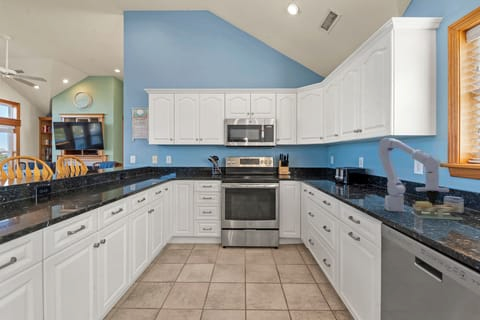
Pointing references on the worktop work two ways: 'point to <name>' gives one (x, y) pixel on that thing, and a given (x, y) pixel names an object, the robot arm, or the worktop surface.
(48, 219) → the worktop surface
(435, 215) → the stand
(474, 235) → the worktop surface
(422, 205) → the slider
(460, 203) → the medicine box
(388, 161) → the robot arm
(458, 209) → the flat elongated piece
